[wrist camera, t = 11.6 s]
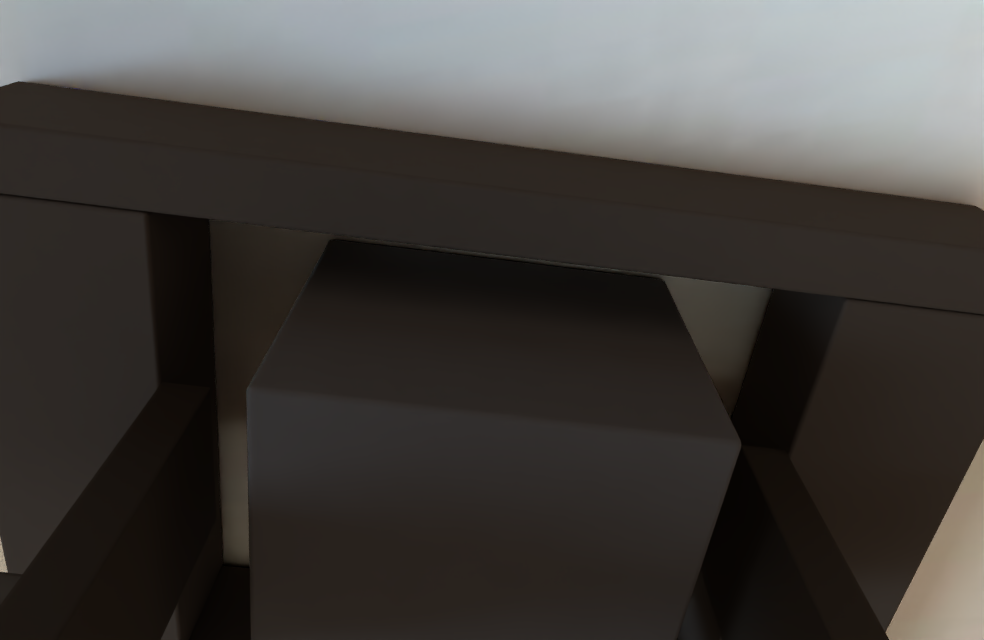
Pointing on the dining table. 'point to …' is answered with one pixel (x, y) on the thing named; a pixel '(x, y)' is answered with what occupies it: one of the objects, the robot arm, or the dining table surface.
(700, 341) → the dining table surface
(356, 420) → the dark grey block
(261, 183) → the base pad
